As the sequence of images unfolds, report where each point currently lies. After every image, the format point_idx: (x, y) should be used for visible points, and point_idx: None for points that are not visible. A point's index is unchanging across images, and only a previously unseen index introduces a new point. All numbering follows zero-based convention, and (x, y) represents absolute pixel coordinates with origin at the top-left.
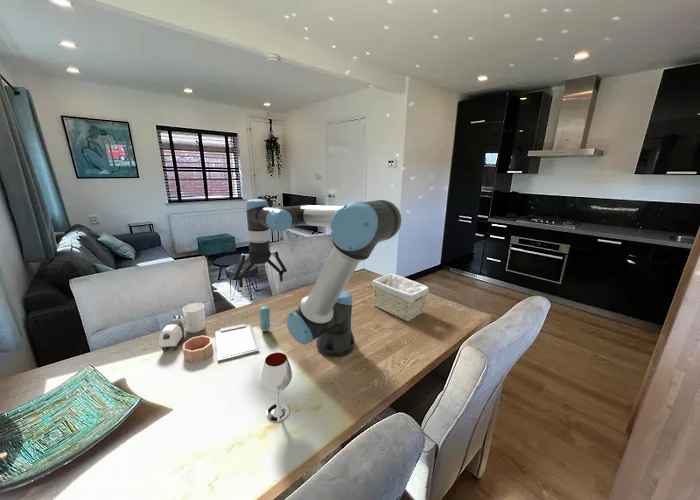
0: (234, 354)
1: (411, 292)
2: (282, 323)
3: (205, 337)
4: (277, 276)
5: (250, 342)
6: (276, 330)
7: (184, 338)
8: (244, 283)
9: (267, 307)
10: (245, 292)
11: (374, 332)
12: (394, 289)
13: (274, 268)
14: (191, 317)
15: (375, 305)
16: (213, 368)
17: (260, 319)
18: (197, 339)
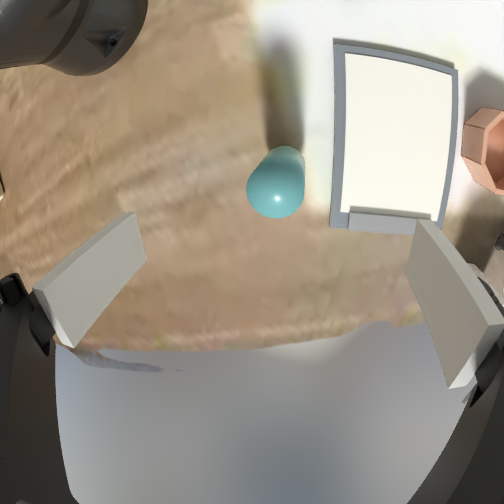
0: (414, 65)
1: None
2: (215, 188)
3: (491, 178)
4: (73, 300)
5: (357, 100)
6: (245, 149)
7: (498, 243)
8: (473, 290)
9: (257, 189)
10: (429, 231)
11: (22, 76)
12: None
13: (11, 368)
14: (499, 292)
15: (1, 189)
16: (464, 54)
17: (303, 169)
18: (502, 188)
